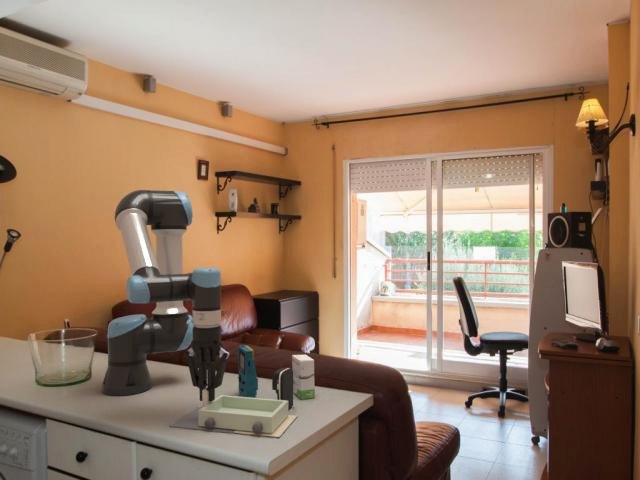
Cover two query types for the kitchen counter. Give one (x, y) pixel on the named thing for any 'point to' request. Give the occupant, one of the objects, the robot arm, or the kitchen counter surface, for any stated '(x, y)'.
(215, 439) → the kitchen counter surface
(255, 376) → the handheld gaming console
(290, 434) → the kitchen counter surface
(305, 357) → the ink box
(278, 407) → the shallow sage green tray
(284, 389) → the battery charger
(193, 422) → the track
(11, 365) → the kitchen counter surface
